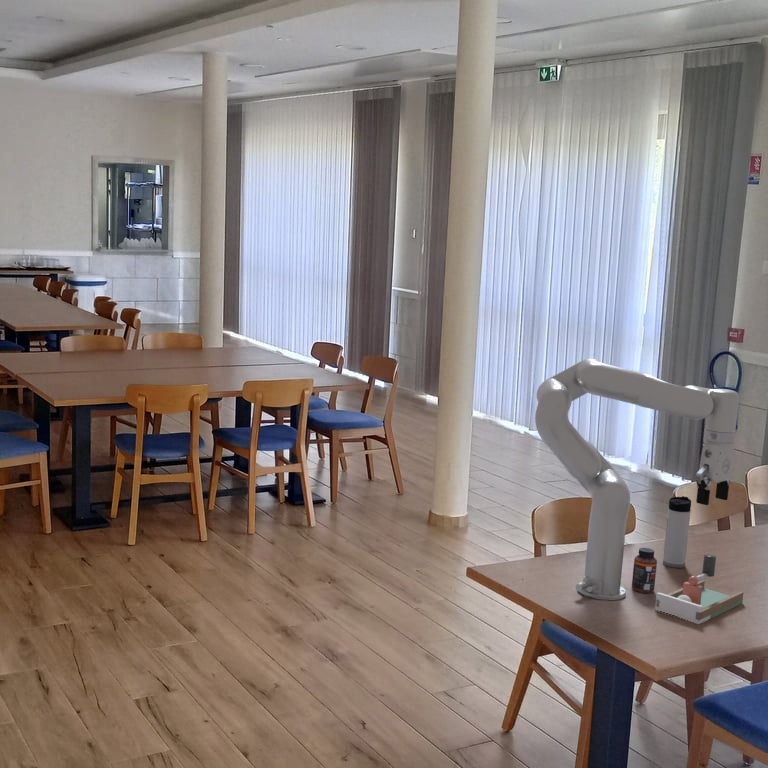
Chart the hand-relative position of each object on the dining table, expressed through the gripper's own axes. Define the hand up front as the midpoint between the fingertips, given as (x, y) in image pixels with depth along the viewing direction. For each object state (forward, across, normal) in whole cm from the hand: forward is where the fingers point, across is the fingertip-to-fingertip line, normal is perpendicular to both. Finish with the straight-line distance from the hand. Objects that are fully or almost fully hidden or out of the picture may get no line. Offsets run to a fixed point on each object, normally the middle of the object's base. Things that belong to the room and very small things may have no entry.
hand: (711, 501), depth 267 cm
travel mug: (+27, +21, +21) cm, 40 cm away
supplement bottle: (+27, -6, +14) cm, 31 cm away
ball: (+24, -14, -3) cm, 28 cm away
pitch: (+27, -5, -2) cm, 27 cm away
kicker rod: (+25, -6, -2) cm, 26 cm away
